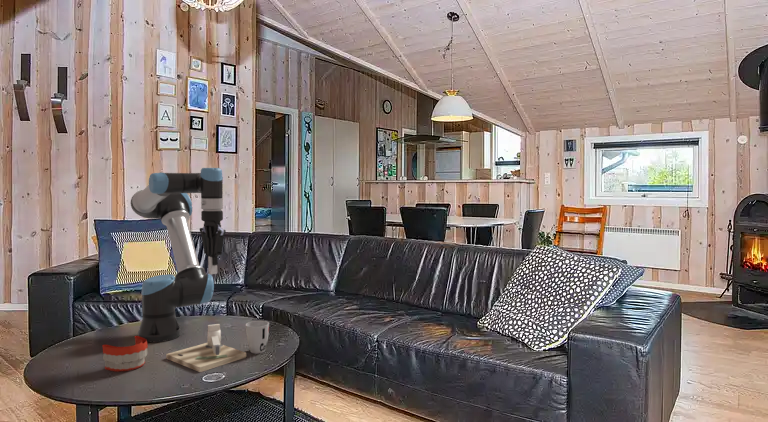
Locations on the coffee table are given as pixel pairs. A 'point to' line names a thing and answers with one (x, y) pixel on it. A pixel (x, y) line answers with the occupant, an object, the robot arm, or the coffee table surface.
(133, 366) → the toy
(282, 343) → the coffee table surface
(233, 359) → the board
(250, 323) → the cup
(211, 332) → the lever
